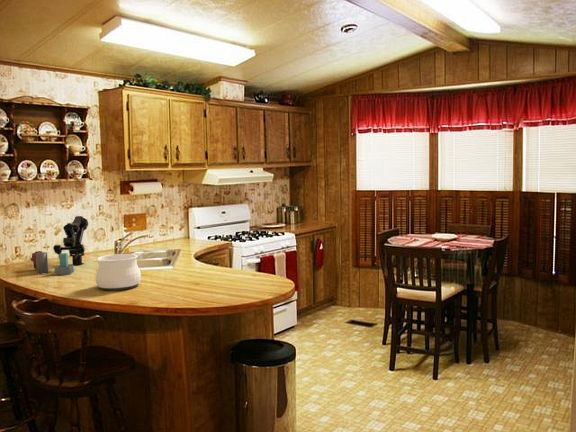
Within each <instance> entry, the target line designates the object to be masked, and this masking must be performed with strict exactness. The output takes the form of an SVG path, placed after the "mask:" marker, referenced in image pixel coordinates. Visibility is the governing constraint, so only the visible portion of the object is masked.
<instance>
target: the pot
mask: <svg viewBox="0 0 576 432" xmlns="http://www.w3.org/2000/svg"><path fill="white" fill-rule="evenodd" d="M141 255H142V254H141V253H140V252H133V253H121V254H119V253H118V254H117V253H116V254H107V255H102V256H98V257H97V258H96V259H92V261H93V262H97V263H98V268H97V271H96V274H95V284H96V286H97V287H98V288H99V289H100V290H102V291H107V292H108V291H112V292H113V291H124V290H129V289H133V288H135V287H137V286H139V285H140V283H141V280H142V274H141V270H140V268H139V266H138V262H137V258H138V257H139V256H141Z"/></svg>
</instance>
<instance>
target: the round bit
mask: <svg viewBox="0 0 576 432" xmlns="http://www.w3.org/2000/svg"><path fill="white" fill-rule="evenodd" d="M48 260H49V259H48V252H47V251H46V252H44V251H42V253H36V264H37V271H36V274H37V273H39V274H38V275H43V274H42V273H46V274H48V273H49V263H48V262H49V261H48Z"/></svg>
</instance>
